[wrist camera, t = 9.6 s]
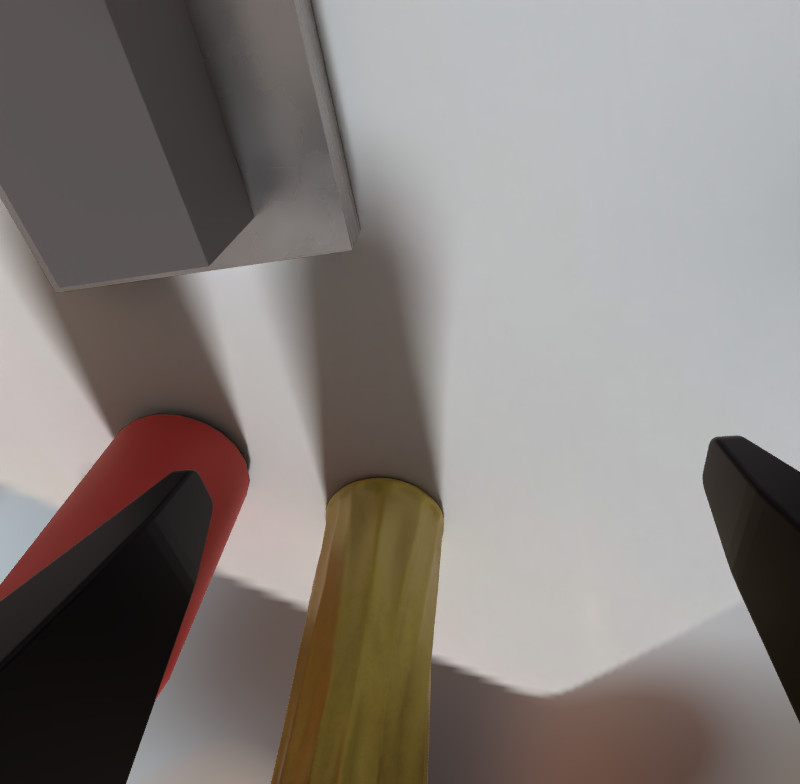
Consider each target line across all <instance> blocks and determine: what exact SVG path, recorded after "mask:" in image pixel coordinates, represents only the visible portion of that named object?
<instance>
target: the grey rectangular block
mask: <svg viewBox="0 0 800 784" xmlns="http://www.w3.org/2000/svg"><path fill="white" fill-rule="evenodd" d="M0 185H1V187H2V188H3V190H4V192H5V194H6V195H7V197H8V199H9V201H10V202H11V204H12V206H13V208H14V209H15V211H16V213H17V215H18V216H19V218H20V220H21V222H22V223H23V225H24V227H25V229H26V230H27V232H28V234H29V236H30V237H31V239H32V241H33V243H34V244H35V246H36V248H37V250H38V251H39V253H40V255H41V257H42V258H43V260H44V262H45V264H46V265H47V267H48V269H49V271H50V272H51V274H52V276H53V277H54V279H55V281H56V283H57V284H58V286H59V288H62V287H69V286H76V285H83V284H90V283H97V282H104V281H111V280H118V279H125V278H132V277H139V276H146V275H153V274H160V273H166V272H173V271H180V270H187V269H194V268H201V267H208V266H210V265H211V264H212V263H213V261H214V260H215V259H216V258H217V257H218V256H219V255H220V254H221V253H222V252H223V251H224V250H225V249H226V248H227V246H228V245H229V244H230V243H231V242H232V241H233V240H234V239H235V238H236V237H237V236H238V235H239V234H240V233H241V231H242V230H243V229H244V228H245V227H246V226H247V225H248V224H249V223H250V222H251V221H252V220H253V219H254V218H255V217H254V214H253V211H252V208H251V205H250V202H249V199H248V196H247V193H246V190H245V186H244V183H243V180H242V177H241V174H240V171H239V168H238V165H237V162H236V159H235V156H234V153H233V150H232V146H231V143H230V140H229V137H228V134H227V131H226V128H225V125H224V122H223V119H222V116H221V113H220V110H219V107H218V103H217V100H216V97H215V94H214V91H213V88H212V85H211V82H210V79H209V76H208V73H207V70H206V67H205V64H204V60H203V57H202V54H201V51H200V48H199V45H198V42H197V39H196V36H195V33H194V30H193V27H192V24H191V20H190V17H189V14H188V11H187V8H186V5H185V2H184V0H0Z"/></svg>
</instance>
